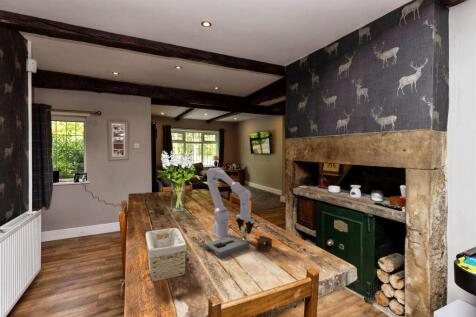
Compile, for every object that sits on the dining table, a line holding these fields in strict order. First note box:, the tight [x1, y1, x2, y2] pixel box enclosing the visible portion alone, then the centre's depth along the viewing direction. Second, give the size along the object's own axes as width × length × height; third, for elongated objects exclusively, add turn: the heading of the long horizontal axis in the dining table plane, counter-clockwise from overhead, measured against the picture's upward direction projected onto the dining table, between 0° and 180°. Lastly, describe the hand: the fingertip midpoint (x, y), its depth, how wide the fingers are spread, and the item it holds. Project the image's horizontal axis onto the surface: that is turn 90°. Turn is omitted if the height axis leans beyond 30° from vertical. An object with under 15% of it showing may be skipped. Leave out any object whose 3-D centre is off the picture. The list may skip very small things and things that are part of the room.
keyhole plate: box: [204, 234, 249, 260], centre depth 133 cm, size 20×14×4 cm
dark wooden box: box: [255, 235, 273, 253], centre depth 132 cm, size 12×10×8 cm
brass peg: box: [240, 224, 249, 242], centre depth 145 cm, size 4×4×9 cm
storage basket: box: [145, 227, 188, 282], centre depth 112 cm, size 24×16×15 cm
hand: (244, 232), depth 145 cm, fingers open, 7 cm apart
